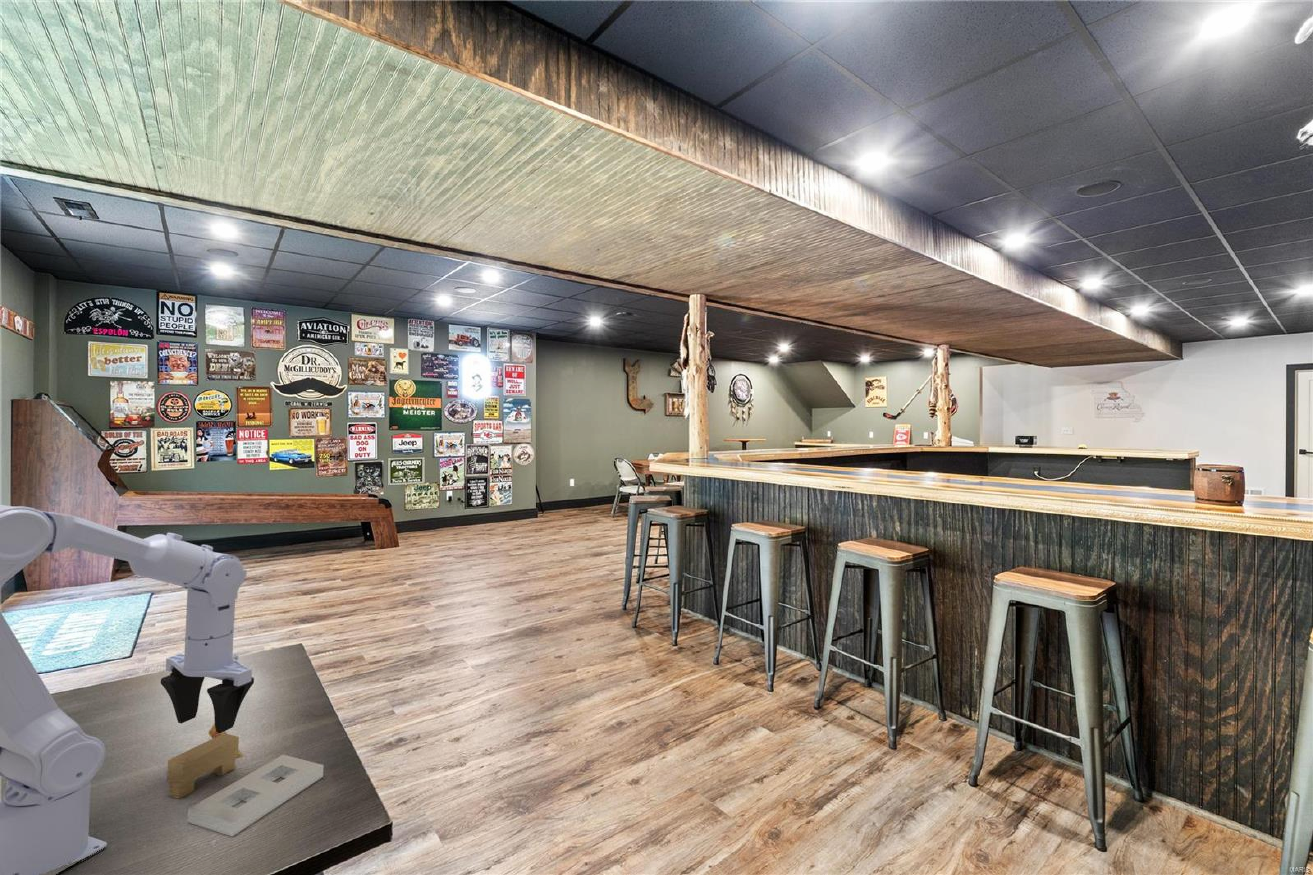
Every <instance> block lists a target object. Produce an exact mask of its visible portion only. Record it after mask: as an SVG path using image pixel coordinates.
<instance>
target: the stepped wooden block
mask: <svg viewBox="0 0 1313 875" xmlns="http://www.w3.org/2000/svg"><path fill="white" fill-rule="evenodd" d="M239 738H240V737H239V736H237V735H233V734H230V733H229V734H228V733H227V734H225V733H224V734H221V735H219V736H217V737H215V738H213V739H212V738H211V739H209V740H207V741H205V742H203V743H201V744H199V745H196V746H194V747H192V748H190V749H188V750H186V751H184V752H182V753H180V754H178V755H176V756H174V757H172V758H169V759H167V773H166V776H167V779H166V781H167V782H168V784H169V788H168V789H169V790H168V796H169V797H172V798H174V799H177V800H179V799H182V798H184V797H186V796H187V795H189V794H191V793H192V792H194V791H195V780H196V779H198V778H200V777H201V776H203V775H206V774H207V773H210V771H211V773H212V774H215V775H218V774H219V776H224V775H226V774H227V773H229V772H231V771H233V770H235V769H236V758H235V757H237V756H238V749H239Z"/></svg>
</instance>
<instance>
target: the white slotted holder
mask: <svg viewBox="0 0 1313 875" xmlns="http://www.w3.org/2000/svg"><path fill="white" fill-rule="evenodd" d="M280 778H282V779H283V780H280V781H279V782H276V780H278V779H280ZM322 778H324V764H320V763H316V762H314V761H309V760H305V759H302V758H297V757H293V756H291V755H290V756H289V755H286V754H281V755H280V756H278V757H276V758H274V759H273V760H271V761H269V762H267V763H266V764H264V765H262V766H260V767H258V768H257V769H256V770H255V769H254V770H253V771H252V772H250V773H248V774H246V775H245V776H243V777H242V778H241V777H240V778H239V779H238V780H236V781H234V782H233V783H230V784H229V785H227V786H225V787H224V788H222V789H220V790H219V791H217V792H215V793H213V794H211V795H209V796H208V797H206V798H204V799H202V800H201V801H199V802H197V803H196V804H194V805H193V806H190V807H189V808H187V823H188V824H192V825H194V826H199V827H200V828H204V829H208V830H211V831H214V832H217V833H220V834H223V835H225V836H229V837H234V836H237V834H239V833H240V832H242V831H243V830H244V829H246V828H249V826H251V825H253V824H254V823H255V822H257V821H258V820H260V819H261V818H263V817H265V816H266V815H267V814H269V813H270V812H273V811H274V810H275V809H276V808H278V807H280V806H281V805H282V804H284V803H286V802H287V801H288V800H290V799H291V798H294V797H295V796H297V794H299V793H301V792H303V791H304V790H305V789H307V788H309V787H310V786H311V785H313V784H314V783H316V782H318V781H319V780H320V779H322ZM242 801H243V802H245V803H243V804H241V805H240V806H238V807H234V806H236V805H237V804H239V803H241V802H242Z"/></svg>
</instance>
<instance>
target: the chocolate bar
mask: <svg viewBox="0 0 1313 875" xmlns="http://www.w3.org/2000/svg"><path fill="white" fill-rule="evenodd" d="M224 733H225V734H228V733H227V732H226V731H224V732H222V733H217V732H216V729H215V722H214V723H213V725H212V726H211V728H210V730H209V731H208V735H209V737H212V738H211V739H213V738H215V737H217V736H219V735H221V734H224ZM241 757H244V754H243V753H242V751H241V750H240V749H239V748H238V756H237V757H235V759H239V758H241Z"/></svg>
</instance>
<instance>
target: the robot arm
mask: <svg viewBox="0 0 1313 875" xmlns="http://www.w3.org/2000/svg"><path fill="white" fill-rule="evenodd" d="M182 539H183V535H180V534H177V533H173V532H166V535H165V534H162V533H158V534H157V533H156V534H154V535H153V534H152V535H151V536H148V537H145V538H140V537H138V536H134V535H133V534H129V533H126V532H124V531H121V530H120V531H119V530H117V529H114V528H112V527H108V526H105V525H103V524H100V523H96V522H94V521H92V520H88V519H85V518H82V517H79V516H77V515H72V514H65V513H57V512H52V511H45V510H39V509H36V508H33V507H29V506H22V505H21V506H20V505H19V506H13V505H12V506H11V505H7V504H6V505H5V504H0V590H1V589H2V588H3V586H4V585H5V584H6V582H8V581H9V580H10V579H12V578H13V577H14V576H15V575H16V574H18V573H19V572H21V570H23V569H24V568H25V567H26V566H28V565H29V564H30V563H31V562H33V561H34V560H35V559H37V558H38V557H39V556H41V554H42V553H43V552H45V553H50V554H55V553H58V552H61V551H63V550H66V549H68V548H71V549H73V550H80V551H82V552H83V551H84V552H86V553H87V552H88V553H91V554H96V555H101V556H105V557H109V558H113V559H117V560H121V561H125V562H128V565H129V567H130V570H131V571H132V573H133V574H134V575H136V576H140V577H143V578H147V579H151V580H156V581H158V582H162V583H163V582H164V583H167V584H171V585H174V586H180V587H181V588H183V589H184V590H187V591H186V592H187V593H186V615H185V636H184V637H185V638H184V653H178V654H174V655H172V656H169V657H166V659H165V660H166V661H165V671H166V672H170V673H169V675H166V676H164V677H162V678H161V679H160V685H161V686H162V687H163V688H164V690H166V693H167V694H168V697H169V698H170V701H171V703H172V706H173V709H174V713H175V717H176V720H177V722H178V724H183V723H186V722H188V721H191V720H192V719H193V720H194V719H195V718H196V717H197V714H198V711H199V702H200V696H201V695H200V694H201V691H202V687H203V686H202V685H203V683H204V681H205V678H210V679H215V680H219V681H221V683H219V684H217V685H213V686H211V687H209V688H207V689H206V693H207V694H208V696H209V698H210V700H211V703H212V708H213V714H214V716H213V718H214V723H215V729H216V732H217V733H222V732H224V731H225V732H226V731H228V730H230V729H232V728H234V725H235V723H236V719H237V716H238V715H239V714H238V713H239V710H240V708H241V706H242V703H243V701H244V699H245V697H246V695H247V694H248V692H249V691H250V689H251V688H252V686H253V685H254V683H255V677H253V676H252V675H253V674H252V673H253V669H252V668H251V667H247V666H245V665H244V664H243V663H241V662H240V661H238V660H239V654H237V653H233V652H234V651H233V650H234V633H235V629H234V628H235V613H236V612H235V611H236V599H238V592H239V589H240V587H241V586H242V584H244V582H245V579H246V577H247V573H248V571H247V569H245V568H244V566H243V565H244V564H243V563H242V561H240V559H239V558H238V557H237V556H235V555H232V554H227V553H221V552H215V551H213V550H214V547H213V546H211V545H208V544H201V545H197V544H193V543H191V542H187V541H184V540H182ZM105 747H106V746H105V744H104V742H103V741H102V740H100V738H97V737H94V736H92V735H89V734H87V733H85V732H84V731H83V730H82V728H81V726H80V725H79V724H78V723H77V721H75V720H74V719H73V718H71V717H70V716H69V715H67V713H65V711H63V710H62V709H61V708H60V707H59V706H58V704H57V703H56V701H55V699H54V698H53V696H52V694H51V693H50V691H49V689H48V688H47V685H46V684H45V683H44V681H43V680H42V678H41V676H40V675H39V673H38V671H37V670H36V668H35V666H34V665H33V663H32V661H31V659H30V658H29V657H28V655H27V653H26V651H25V650H24V648H23V646H22V645H21V643H20V642H19V640H18V638H17V637H16V635H15V633H14V632H13V630H12V629H11V626H10V625H9V623H8V622H7V620H6V619H5V617H4V616H3V614H2V613H1V611H0V777H1V778H4V779H6V787H5V790H4V794H3V799H2V800H1V801H0V875H14V874H15V875H39V874H46V873H47V872H49V871H51V870H55V869H56V868H60V867H61V866H63V865H69V864H68V863H69V862H70V861H71V862H72V863H73V862H75V861H79V860H81V859H83V858H85V857H87V856H89V857H91V856H93V855H95V854H97V853H98V852H100V851H102V850H103V848H104V847H105V848H106V847H108V846H107V845H108V844H107V842H106V841H104V840H101V839H98V838H96V837H92V836H90V835H89V834H90V833H89V832H90V831H89V830H90V813H91V812H90V806H91V785H92V779H93V778H94V777H95V775H96V774H97V773H99V770H100V769H101V767H102V765H103V764H104V761H105V757H106V748H105ZM105 848H104V849H105ZM101 849H102V850H101ZM99 850H100V851H99ZM97 851H98V852H97ZM96 852H97V853H96ZM94 853H95V854H94ZM92 854H93V855H92ZM90 855H91V856H90ZM71 862H70V864H71ZM49 874H50V873H49Z"/></svg>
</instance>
